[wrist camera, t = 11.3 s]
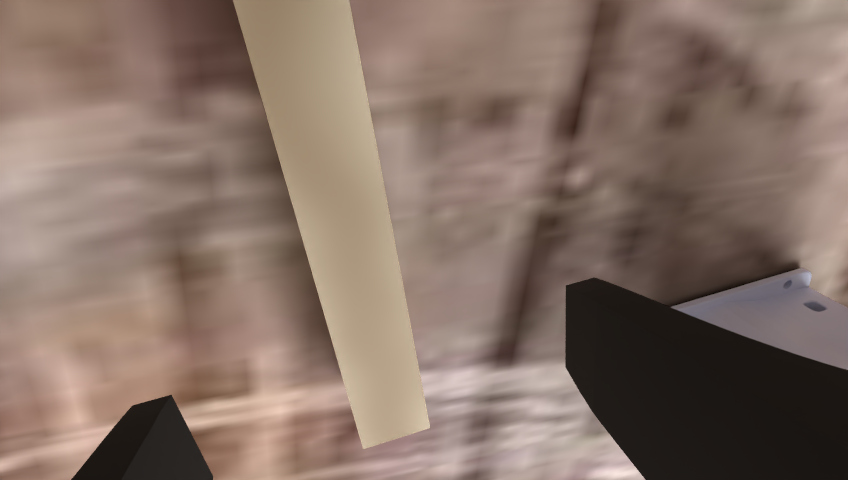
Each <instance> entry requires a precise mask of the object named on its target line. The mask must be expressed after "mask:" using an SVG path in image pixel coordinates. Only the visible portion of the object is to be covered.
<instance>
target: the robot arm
mask: <svg viewBox="0 0 848 480" xmlns="http://www.w3.org/2000/svg"><path fill="white" fill-rule="evenodd" d="M810 280H811V272H810V271H808V270H806V269H804V268H799V269H796V270H793V271H789V272H786V273H782V274H779V275H776V276H772V277H769V278H766V279H762V280H759V281H756V282H752V283H749V284H746V285H742V286H739V287H736V288H732V289H729V290H726V291H722V292H719V293H716V294H712V295H709V296H705V297H702V298H699V299H695V300H692V301H689V302H685V303H682V304H679V305H675V306H672V307H668V306H666V305H664V304H661V303H659V302H656V301H654V300H651V299H649V298H647V297H644V296H642V295H639V294H637V293H634V292H632V291H629V290H627V289H624V288H622V287H619V286H617V285H614V284H611V283H609V282H606V281H603V280H600V279H597V278H592V279H588V280H584V281H581V282H577V283H574V284H570V285H566V369H567V370H568V372H569V374H570V375H571V377H572V379H573V381H574V382H575V384H576V386H577V387H578V389H579V391H580V393H581V394H582V396H583V397H584V399H585V401H586V402H587V404H588V405H589V407H590V409H591V410H592V412H593V413H594V414H595V416H596V417H597V418H598V420H599V421H600V422H601V424H602V425H603V426H604V427H605V429H606V430H607V431H608V433H609V434H610V435H611V436H612V438H613V439H614V440H615V442H616V443H617V444H618V445H619V447H620V448H621V449H622V450H623V452H624V453H625V454H626V455H627V457H628V458H629V459H630V461H631V462H632V463H633V464H634V466H635V467H636V468H637V469H638V471H639V472H640V473H641V474H642V476H643V477H644V478H645V479H646V480H848V308H847V307H845V306H843V305H842V304H840V303H838V302H836V301H834V300H832V299H830V298H828V297H826V296H824V295H823V294H821V293H819V292H817V291H815V290H813V289H811V288H809V284H810ZM71 480H213V475H212V473H211V471H210V469H209V467H208V465H207V463H206V462H205V460H204V458H203V456H202V454H201V452H200V450H199V448H198V446H197V444H196V442H195V440H194V438H193V436H192V434H191V432H190V430H189V428H188V426H187V424H186V422H185V421H184V419H183V417H182V415H181V413H180V411H179V409H178V407H177V405H176V403H175V401H174V399H173V397H172V395H169V396H165V397H162V398H158V399H155V400H151V401H147V402H144V403H140V404H137V405H133V406H132V407H131V408H130V409H129V410H128V411H127V412H126V414H125V415H124V416H123V417H122V418H121V419H120V421H119V422H118V423H117V424H116V425H115V427H114V428H113V429H112V430H111V431H110V433H109V434H108V435H107V436H106V437H105V439H104V440H103V441H102V442H101V444H100V445H99V446H98V447H97V449H96V450H95V451H94V452H93V454H92V455H91V456H90V457H89V459H88V460H87V461H86V462H85V463H84V465H83V466H82V467H81V468H80V470H79V471H78V472H77V473H76V475H75V476H74V477H73V478H72V479H71Z"/></svg>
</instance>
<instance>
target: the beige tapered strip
mask: <svg viewBox="0 0 848 480" xmlns="http://www.w3.org/2000/svg"><path fill="white" fill-rule="evenodd" d="M233 2H234V6H235V9H236V13H237V16H238V20H239V23H240V26H241V30H242V33H243V37H244V40H245V44H246V47H247V51H248V54H249V57H250V61H251V64H252V68H253V71H254V75H255V78H256V81H257V85H258V88H259V92H260V95H261V99H262V102H263V106H264V109H265V112H266V116H267V119H268V123H269V126H270V130H271V133H272V137H273V140H274V143H275V147H276V150H277V154H278V157H279V161H280V164H281V168H282V171H283V174H284V178H285V181H286V185H287V188H288V192H289V195H290V199H291V202H292V205H293V209H294V212H295V216H296V219H297V223H298V226H299V230H300V233H301V236H302V240H303V243H304V247H305V250H306V254H307V257H308V261H309V264H310V267H311V271H312V274H313V278H314V281H315V285H316V288H317V292H318V295H319V298H320V302H321V305H322V309H323V312H324V316H325V319H326V322H327V326H328V329H329V333H330V336H331V340H332V343H333V347H334V350H335V353H336V357H337V360H338V364H339V367H340V371H341V374H342V378H343V381H344V384H345V388H346V391H347V395H348V398H349V402H350V405H351V409H352V412H353V415H354V419H355V422H356V426H357V429H358V433H359V436H360V440H361V443H362V446H363V449H366V448H369V447H372V446H375V445H378V444H381V443H384V442H388V441H391V440H394V439H397V438H400V437H403V436H406V435H409V434H413V433H416V432H419V431H422V430H425V429H428V428H430V425H429V419H428V414H427V409H426V403H425V398H424V393H423V388H422V382H421V377H420V372H419V366H418V361H417V356H416V351H415V345H414V340H413V335H412V330H411V324H410V319H409V314H408V308H407V303H406V298H405V293H404V287H403V282H402V277H401V272H400V266H399V261H398V256H397V250H396V245H395V240H394V235H393V229H392V224H391V219H390V213H389V208H388V203H387V198H386V192H385V187H384V182H383V177H382V171H381V166H380V161H379V155H378V150H377V145H376V140H375V134H374V129H373V124H372V119H371V113H370V108H369V103H368V97H367V92H366V87H365V82H364V76H363V71H362V66H361V61H360V55H359V50H358V45H357V39H356V34H355V29H354V24H353V18H352V13H351V8H350V2H349V0H233Z"/></svg>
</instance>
